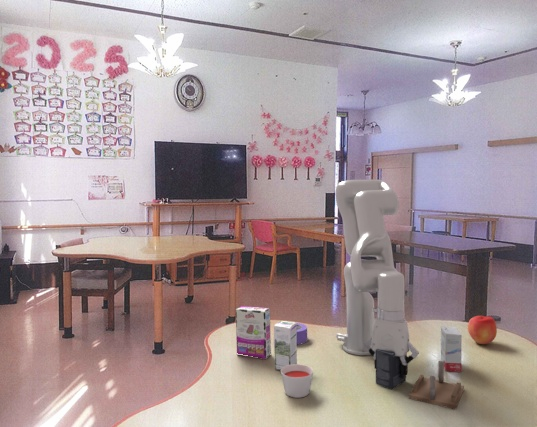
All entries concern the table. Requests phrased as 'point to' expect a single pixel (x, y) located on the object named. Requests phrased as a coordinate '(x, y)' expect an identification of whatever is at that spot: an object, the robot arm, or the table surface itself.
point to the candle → (297, 380)
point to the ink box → (451, 348)
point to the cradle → (437, 390)
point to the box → (388, 369)
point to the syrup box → (285, 344)
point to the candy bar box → (253, 331)
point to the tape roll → (301, 333)
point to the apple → (482, 329)
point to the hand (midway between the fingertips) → (390, 373)
